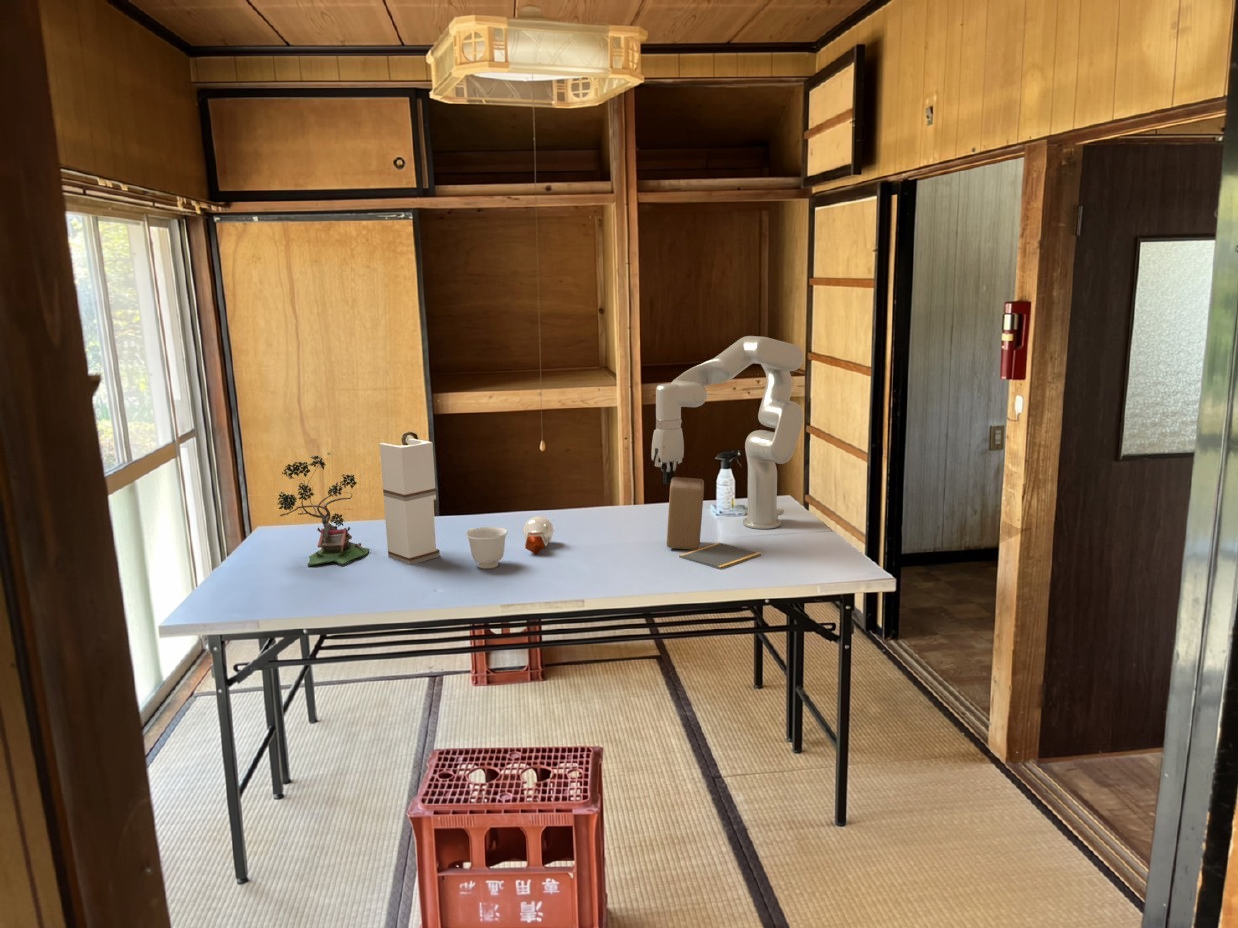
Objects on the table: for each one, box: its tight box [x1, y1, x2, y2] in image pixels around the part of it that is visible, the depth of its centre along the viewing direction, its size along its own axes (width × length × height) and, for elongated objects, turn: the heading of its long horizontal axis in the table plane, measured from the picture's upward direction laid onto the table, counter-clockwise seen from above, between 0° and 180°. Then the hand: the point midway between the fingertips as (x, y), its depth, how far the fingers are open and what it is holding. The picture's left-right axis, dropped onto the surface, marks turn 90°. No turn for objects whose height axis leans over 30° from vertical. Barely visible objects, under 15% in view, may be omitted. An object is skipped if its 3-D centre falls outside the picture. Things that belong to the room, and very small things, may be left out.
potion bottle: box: [522, 515, 555, 555], centre depth 267 cm, size 9×10×15 cm
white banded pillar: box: [379, 437, 441, 566], centre depth 258 cm, size 11×11×35 cm
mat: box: [678, 542, 761, 570], centre depth 255 cm, size 18×16×1 cm
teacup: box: [465, 526, 508, 569], centre depth 252 cm, size 12×15×10 cm
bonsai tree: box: [277, 455, 371, 568], centre depth 255 cm, size 35×24×32 cm
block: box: [666, 476, 705, 551], centre depth 263 cm, size 10×10×20 cm
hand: (668, 483), depth 266 cm, fingers closed
